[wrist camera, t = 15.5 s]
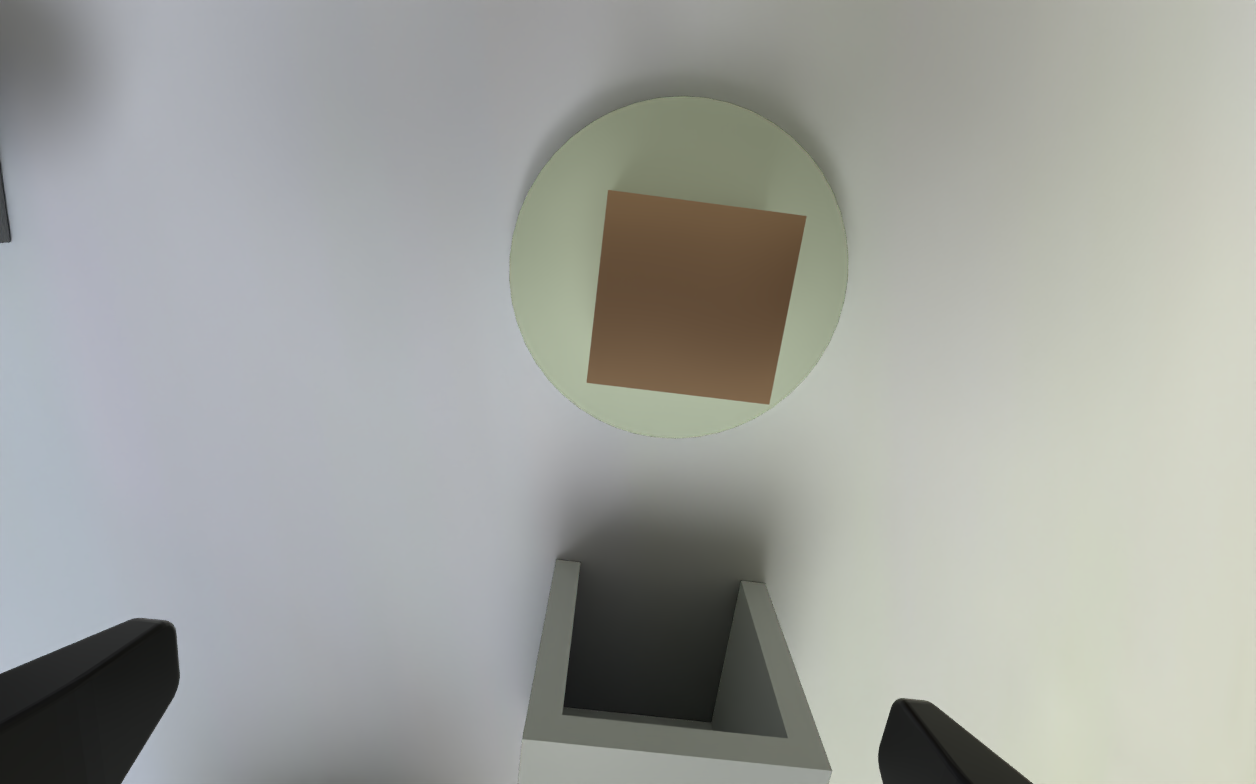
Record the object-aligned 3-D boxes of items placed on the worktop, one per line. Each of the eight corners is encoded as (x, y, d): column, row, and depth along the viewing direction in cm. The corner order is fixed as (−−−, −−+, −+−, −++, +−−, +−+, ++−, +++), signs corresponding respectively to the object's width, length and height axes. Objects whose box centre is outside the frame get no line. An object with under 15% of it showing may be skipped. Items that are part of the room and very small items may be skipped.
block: (739, 359, 18) (769, 404, 14) (594, 342, 18) (586, 383, 14) (765, 210, 17) (807, 215, 13) (611, 190, 17) (607, 189, 13)
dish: (798, 440, 20) (809, 456, 19) (504, 404, 20) (497, 418, 19) (867, 127, 17) (884, 123, 16) (530, 79, 17) (524, 71, 16)
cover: (729, 742, 23) (774, 976, 16) (537, 722, 23) (499, 951, 16) (765, 583, 22) (832, 770, 15) (556, 559, 21) (521, 738, 14)
